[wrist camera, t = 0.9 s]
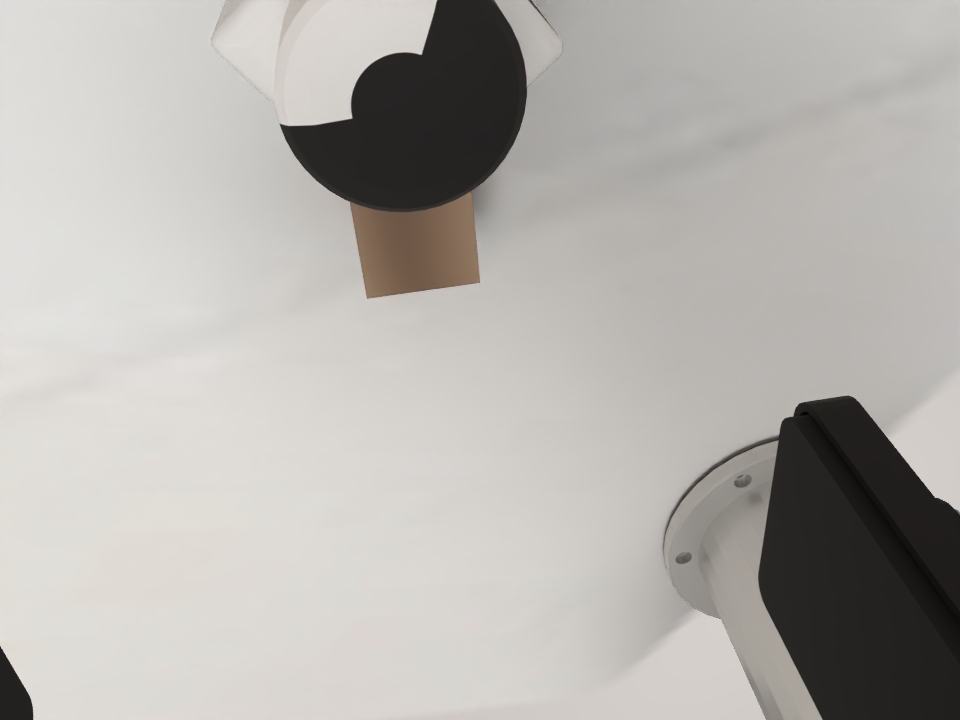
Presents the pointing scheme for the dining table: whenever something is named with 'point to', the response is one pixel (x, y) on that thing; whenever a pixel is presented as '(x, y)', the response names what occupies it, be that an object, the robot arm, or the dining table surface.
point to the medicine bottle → (392, 88)
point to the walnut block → (417, 248)
